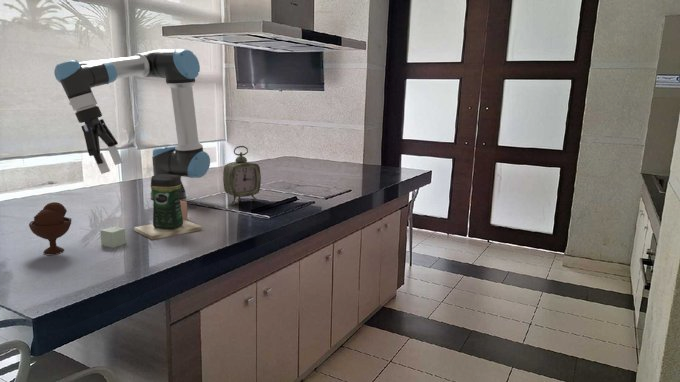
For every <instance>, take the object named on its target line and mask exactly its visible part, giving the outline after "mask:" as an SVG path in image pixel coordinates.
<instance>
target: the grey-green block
mask: <svg viewBox="0 0 680 382" xmlns="http://www.w3.org/2000/svg"><path fill="white" fill-rule="evenodd" d="M99 233H100V242H101V246H102V245H104V246H103V247H107V246H108V247H107V248H111V247H114V248H117V247H119V246H123V245H125V244H127V239H126V237H127V236H126V228H125V227H118V226H110V227H107V228H103V229H101V230H100V232H99ZM116 246H117V247H116Z"/></svg>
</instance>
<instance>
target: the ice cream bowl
mask: <svg viewBox="0 0 680 382" xmlns="http://www.w3.org/2000/svg"><path fill="white" fill-rule="evenodd" d="M67 212H68V211H67V208H66V207H65V206H64V205H63V204H62V203H60V202H55V201H54V202H53V201H52V202H49V203H47V204H45V206H44V207H43V209H41V210H39V212H38V213H37V214H36V215H34V216H33V220H32V221H30V222H29V223H28V227H29V229H30V231H31V232H32V233H33V234H34V235H36V236H37V237H39V238H41V239H43V240H48V242H49V247H47V248H46V249H44V250H43V253H45V254H54V255H57V254H56V253H59V254H61V253H60V252H62V253H64V252H65V249H64V247H60V246H57V239H59V238H61V237H63V236H64V235H66V233H68V231H69V229H70V228H71V224H72V218H71V217H67V216H66V214H67ZM63 251H64V252H63ZM43 253H42V254H43ZM45 254H44V255H45Z"/></svg>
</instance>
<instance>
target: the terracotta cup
mask: <svg viewBox="0 0 680 382" xmlns="http://www.w3.org/2000/svg"><path fill="white" fill-rule="evenodd" d="M187 202H188V201H186V200H182V199H180V204H181V211H182V217H183V219H185V220H187V221H189V219H188V203H187Z"/></svg>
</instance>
